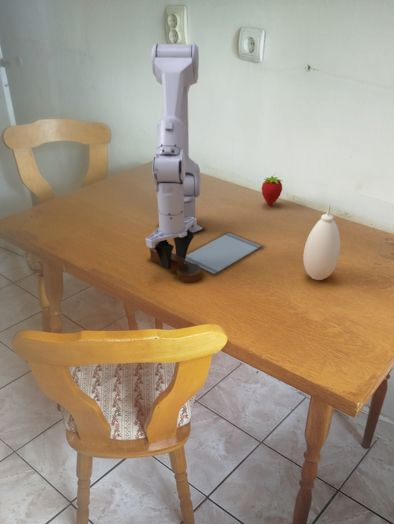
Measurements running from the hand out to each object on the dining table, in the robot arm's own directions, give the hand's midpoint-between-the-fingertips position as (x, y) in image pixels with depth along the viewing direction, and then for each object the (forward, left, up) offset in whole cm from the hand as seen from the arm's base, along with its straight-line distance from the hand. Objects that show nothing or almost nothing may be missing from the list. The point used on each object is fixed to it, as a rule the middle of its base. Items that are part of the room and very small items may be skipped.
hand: (173, 263), depth 120 cm
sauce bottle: (+24, +24, -2) cm, 34 cm away
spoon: (0, 0, -1) cm, 1 cm away
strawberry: (-12, +43, -2) cm, 45 cm away
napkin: (+1, +14, -1) cm, 14 cm away
